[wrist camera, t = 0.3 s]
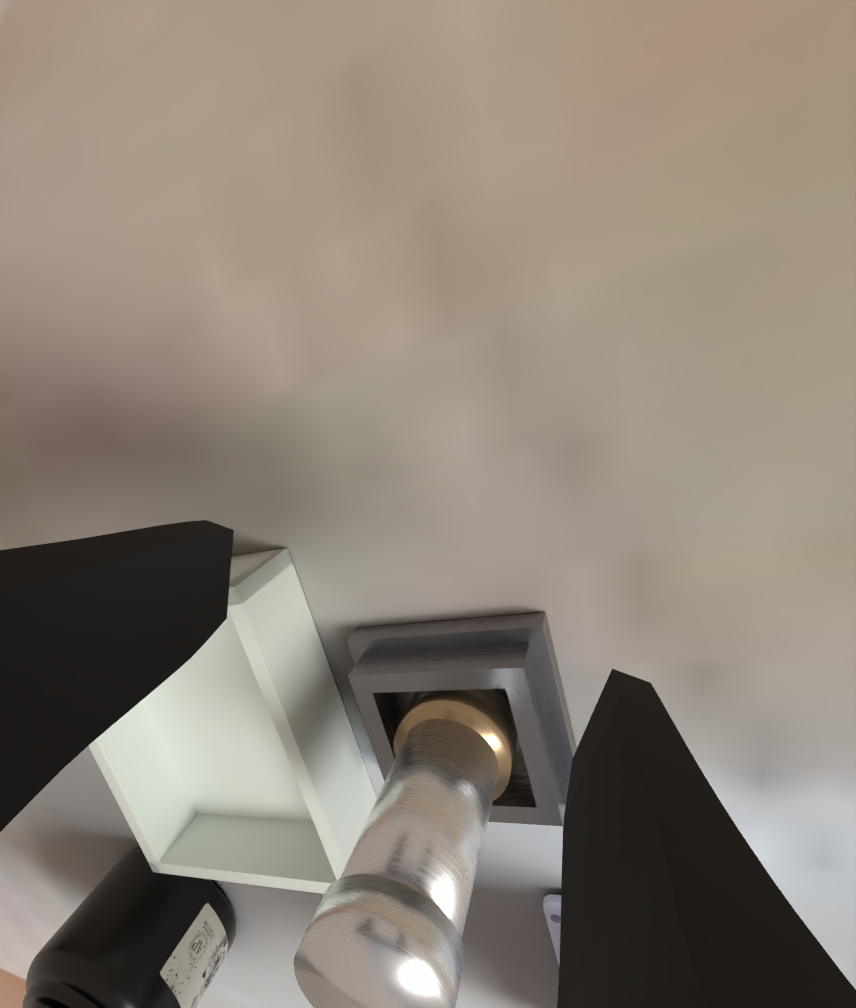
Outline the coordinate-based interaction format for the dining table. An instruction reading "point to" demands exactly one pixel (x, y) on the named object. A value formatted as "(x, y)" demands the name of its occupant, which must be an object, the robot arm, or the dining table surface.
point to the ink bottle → (135, 943)
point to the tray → (245, 749)
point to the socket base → (466, 666)
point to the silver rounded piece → (413, 862)
